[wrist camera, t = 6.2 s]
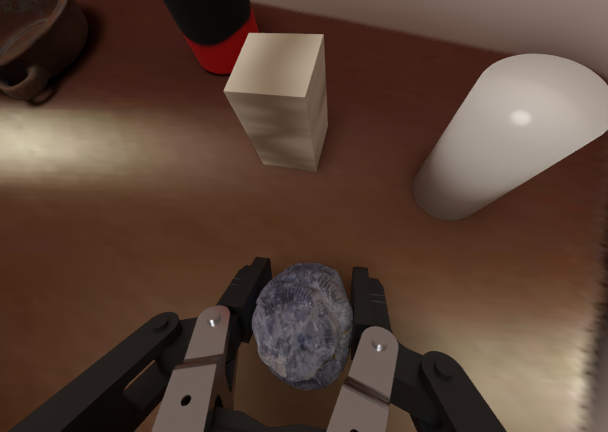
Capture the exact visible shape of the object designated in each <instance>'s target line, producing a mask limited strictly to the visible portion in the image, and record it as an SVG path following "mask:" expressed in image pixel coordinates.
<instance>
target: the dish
mask: <svg viewBox="0 0 608 432" xmlns="http://www.w3.org/2000/svg"><path fill="white" fill-rule="evenodd" d="M87 36H88V23H87V20H86V18H85V16H84V14H83V12H82V11H81V9H80V7H79V6H78V4H77V2H76V1H75V0H0V89H1V90H2V91H3V92H5V93H6V94H8V95H9V96H11V97H13V98H15V99H17V100H23V101H25V100H30V99H33V98H34V97H36V96H38V95H39V94H40V93H42V92H43V90H44V88H45V87H46V85H47V82H48V80H49V79H50V78H52V77H54V76H55V75H57V74H58V73H60V72H61V71H63V70H64V69H65V68H67V67H68V66H69V65H70V64H71V63H72V62H73V61H74V60H75V59H76V58H77V56H78V55H79V54H80V52H81V51H82V49H83V47H84V45H85V43H86V40H87Z"/></svg>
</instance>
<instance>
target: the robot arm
mask: <svg viewBox="0 0 608 432" xmlns="http://www.w3.org/2000/svg"><path fill="white" fill-rule="evenodd" d="M270 280H272V273H271V262H270V259H269V258H260V257H256V258H255V259H254V261H253V263H252V264H251V266H248V265H246V266H244V267H243V268H242V269H240V270H239V271H238V273H237V274H236V276H235V277H234V279H233V280H232V282H231V284H230V285H229V286H228V288H227V289H226V291H225V292H224V294H223V296H222V297H221V299H220V300H219V302H218V303H217V305H216V306H212V307H210V308H208V309H206V310H204V311H203V312H202V313H201V314H200V315H199V317H197V318H191V319H184V320H179V317H178V315H177V314H176V313H173V312H165V313H161V314H159V315H156V316H155V317H153V318H152V319H150V320H149V321H148V322H146V323H145V324H144V325H143V326H141V327H140V328H139V329H138V330H136V331H135V332H134V333H132V334H131V335H130V336H129V337H127V338H126V339H125V340H124V341H122V342H121V343H120V344H118V345H117V346H116V347H115V348H113V349H112V350H111V351H110V352H108V353H107V354H106V355H105V356H103V357H102V358H101V359H99V360H98V361H97V362H96V363H94V364H93V365H92V366H91V367H89V368H88V369H87V370H85V371H84V372H83V373H82V374H80V375H79V376H78V377H77V378H75V379H74V380H73V381H71V382H70V383H69V384H68V385H66V386H65V387H64V388H63V389H61V390H60V391H59V392H58V393H56V394H55V395H54V396H52V397H51V398H50V399H49V400H47V401H46V402H45V403H44V404H42V405H41V406H40V407H38V408H37V409H36V410H35V411H33V412H32V413H31V414H30V415H28V416H27V417H26V418H24V419H23V420H22V421H21V422H19V423H18V424H17V425H16V426H14V427H13V428H12V429H11V430H9V431H8V432H134V431H135V430H136V429H137V428H138V426H139V425H140V424H141V423H142V422H143V421H144V420H145V419H146V417H147V416H148V415H149V414H150V413H151V412H152V411H153V410H154V408H155V407H156V406H157V405H158V404H159V403H160V402H161V401H162V403H161V406H160V409H159V412H158V415H157V417H156V420H155V423H154V426H153V429H152V432H385V431H386V425H387V419H388V413H389V406H390V403H392V404H394V405H395V406H397V407H399V408H401V409H403V410H404V411H406V412H408V413H409V414H410V416H411V418H412V421H413V423H414V426H415V428H416V430H417V432H506V430H505V429H504V427H503V426H502V424H501V423H500V421H499V420H498V419H497V417H496V416H495V414H494V413H493V411H492V410H491V409H490V407H489V406H488V404H487V403H486V401H485V400H484V399H483V397H482V396H481V394H480V393H479V391H478V390H477V389H476V387H475V386H474V384H473V383H472V381H471V380H470V379H469V377H468V376H467V374H466V373H465V371H464V370H463V369H462V367H461V366H460V365H459V364H458V363H457V362H456V361H455V360H454V359H453V358H451V357H450V356H448V355H446V354H444V353H442V352H438V351H430V352H427V353H426V354H424V356H423V355H421V354H418V353H416V352H414V351H412V350H409V349H407V348H406V347H404V346H403V345H401V344H400V343H399V342H398V341H397V340H396V338H395V337H394V335H393V333H392V331H391V326H390V321H389V315H388V310H387V305H386V300H385V294H384V289H383V286H382V284H381V283H380V282H379V280H378V279H373V278H369V277H368V269H367V268H363V267H353V272H352V283H351V295H350V305H351V307H352V310H353V326H352V340H351V360H353V363H352V366H351V369H350V372H349V374H348V377H347V379H345V381H344V383H343V385H342V388H341V391H340V394H339V396H338V399H337V402H336V405H335V408H334V411H333V414H332V417H331V419H330V422H329V425H328V428H327V430H325V429H320V428H316V427H311V426H306V425H301V424H298V425H289V426H281V427H273V428H269V427H266V426H264V425H263V424H261V423H260V422H258V421H256V420H255V419H253V418H251V417H250V416H248V415H247V414H245V413H243V412H240V411H235V410H234V390H235V381H236V372H237V363H238V348H239V346H240V344H241V342H244V343H249V341H250V339H251V336H252V334H253V330H252V318H253V314H254V311H255V309H256V306H257V303H256V301H257V299H258V297H259V295H260V292H261V291H262V290H263V288H264V287H265V286H266V285H267V283H268V282H269V281H270ZM153 360H155V362H154V363H153V364H152V365H151V366H150V367H149V368H148V369H147V370H145V371H144V372H143V373H142V374H141V375H140V376H139V377H138V378H137V379H136V380H135V381H134V382H133V383H132V384H131V385H130V386H129V387H128V388H127V389H126V390H125V391H124V389H125V387H126V386H127V385H128V383H129V382H130V381H131V380H132V379H134V378H135V377H136V376H137V375H138V374H139V373H140V372H141V371H142V370H143V369H144V368H145V367H146V366H147V365H148V364H149V363H150V362H152V361H153ZM162 399H163V400H162Z"/></svg>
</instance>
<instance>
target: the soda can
mask: <svg viewBox="0 0 608 432" xmlns="http://www.w3.org/2000/svg"><path fill="white" fill-rule="evenodd" d="M163 1H164V3H165V4H166V6H167V8H168V10H169V11H170V13H171V15H172V16H173V18H174V20H175V22H176V23H177V25H178V27H179V28H180V30H181V32H182V34H183V35H184V37H185V39H186V40H187V42H188V44H189V46H190V47H191V49H192V51H193V52H194V54H195V56H196V58H197V59H198V61H199V63H200V64H201V66H202V67H203V68H204V69H205V70H207V71H209V72H212V73H214V74H219V75H227V74H231V73H232V71H233V68H234V66H235V64H236V61H237V59H238V57H239V55H240V52H241V50H242V48H243V45H244V43H245V41H246V38H247V36H248V34H249V33H259V31H258V27H257V24H256V20H255V17H254V13H253V10H252V7H251V3H250V0H163Z"/></svg>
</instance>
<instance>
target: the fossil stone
mask: <svg viewBox="0 0 608 432" xmlns="http://www.w3.org/2000/svg"><path fill="white" fill-rule="evenodd" d="M256 303H257V306H256V309H255V311H254V314H253V318H252V330H253V333H254V336H255V339H256V343H257V346H258V354H259V356H260V358H261V360H262V361H263V362H264V363H265V364H266V365H267V366H268V367H269V369H270V371H271V372H272V373H273V375H275V376H276V377H278V378H279V379H280V380H281V381H282V382H284V383H285V384H287V385H291V386H292V387H293V388H298V389H299V390H306V391H309V390H311V389H313V390H318V389H321V388H326V387H327V386H329V385H330V384H331V383H332V382H334V381H336V380H337V378H338V377H339V375H340V373H341V372H342V371H343V369H344V366H345V364H346V361H347V357H348V355H349V351H350V347H351V340H352V326H353V310H352V307H351V305H350V303H349V299H348V298H347V294H346V291H345V288H344V285H343V282H342V280H341V278H340V275H339V274H338V272H337V271H336V270H335V269H332V268H330V267H327V266H325V265H323V264H319V263H317V262H316V263H313V264H312V263H307V264H305V263H297V264H295V265H293V266H290V267H289V268H287V269H285V270H284V271H283V272H282V273H280V274H279V275H277V276H276V277H275V278H273V279H272V280H270V281H269V282H268V283H267V285H266V286H265V287H264V288H263V290H262V291H261V292H260V295H259V297H258V299H257V301H256Z"/></svg>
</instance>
